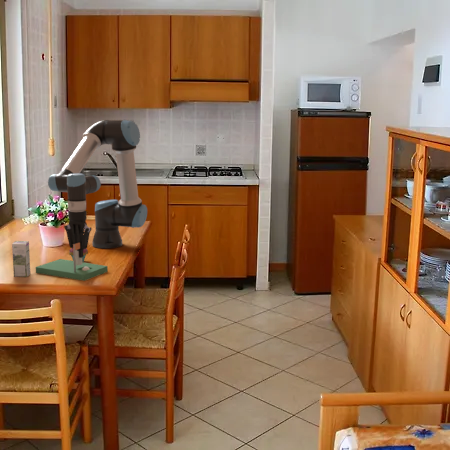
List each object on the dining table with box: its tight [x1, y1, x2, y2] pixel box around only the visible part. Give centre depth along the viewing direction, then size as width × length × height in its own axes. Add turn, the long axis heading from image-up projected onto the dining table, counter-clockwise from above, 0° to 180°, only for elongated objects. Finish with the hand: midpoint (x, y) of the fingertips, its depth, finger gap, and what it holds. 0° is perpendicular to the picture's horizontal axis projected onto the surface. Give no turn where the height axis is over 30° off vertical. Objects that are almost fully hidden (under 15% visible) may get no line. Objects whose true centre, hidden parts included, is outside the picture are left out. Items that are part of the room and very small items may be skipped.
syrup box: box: [11, 240, 31, 278], centre depth 266 cm, size 6×6×14 cm
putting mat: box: [35, 243, 109, 282], centre depth 272 cm, size 16×26×14 cm, turn 64°
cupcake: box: [68, 248, 89, 263], centre depth 290 cm, size 9×8×12 cm
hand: (78, 264), depth 271 cm, fingers closed
